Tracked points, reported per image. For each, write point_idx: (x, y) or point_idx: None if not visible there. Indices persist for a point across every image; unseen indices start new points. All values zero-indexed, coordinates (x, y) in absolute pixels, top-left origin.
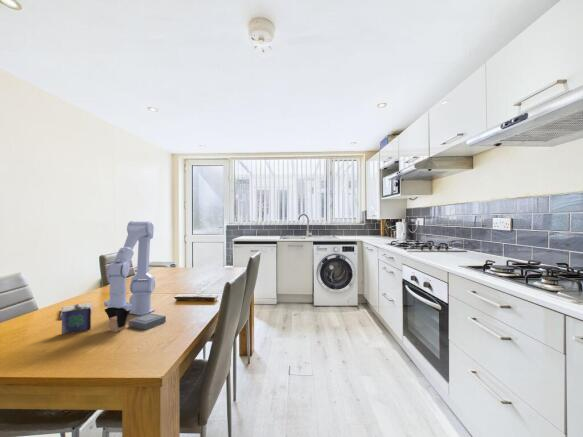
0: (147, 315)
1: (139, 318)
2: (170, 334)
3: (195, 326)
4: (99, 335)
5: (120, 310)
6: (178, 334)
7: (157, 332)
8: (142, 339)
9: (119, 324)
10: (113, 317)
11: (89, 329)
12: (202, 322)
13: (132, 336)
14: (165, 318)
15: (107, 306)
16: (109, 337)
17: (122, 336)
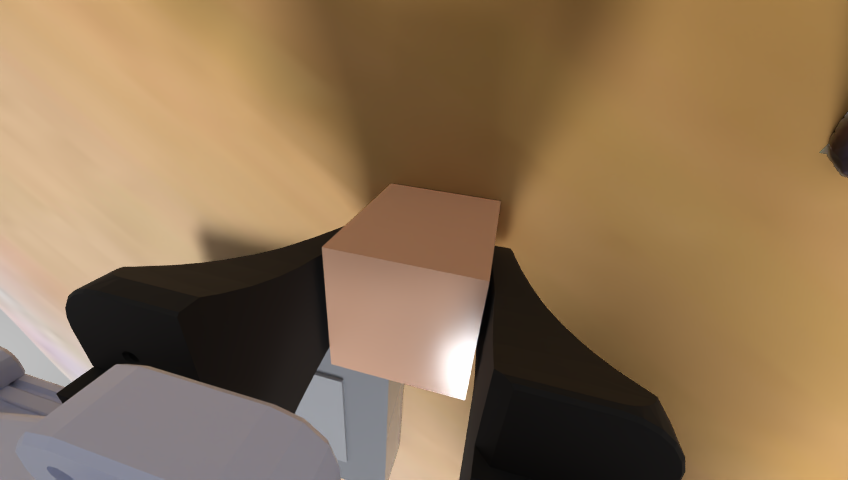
0: (341, 450)
1: (332, 396)
2: (35, 241)
3: (71, 355)
4: (481, 37)
5: (128, 360)
6: (10, 251)
7: (117, 252)
8: (53, 116)
9: (334, 231)
10: (445, 307)
11: (834, 145)
12: None
13: (165, 141)
14: None
15: (196, 443)
16: (311, 38)
17: (230, 111)
